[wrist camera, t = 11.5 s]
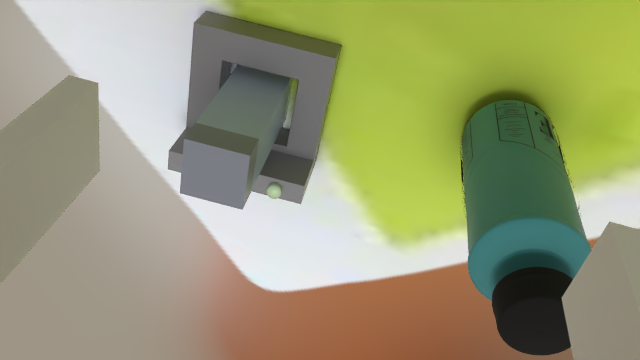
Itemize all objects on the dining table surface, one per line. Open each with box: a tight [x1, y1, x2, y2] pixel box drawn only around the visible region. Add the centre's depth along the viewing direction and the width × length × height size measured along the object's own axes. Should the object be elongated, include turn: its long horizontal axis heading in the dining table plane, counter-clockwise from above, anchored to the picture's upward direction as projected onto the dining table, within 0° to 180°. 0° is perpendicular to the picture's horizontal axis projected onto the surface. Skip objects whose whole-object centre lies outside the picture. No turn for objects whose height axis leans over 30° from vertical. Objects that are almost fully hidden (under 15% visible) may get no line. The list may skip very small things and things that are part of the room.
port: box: [168, 11, 342, 204], centre depth 44 cm, size 10×10×7 cm
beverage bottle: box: [460, 100, 591, 355], centre depth 36 cm, size 6×7×20 cm
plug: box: [180, 64, 293, 209], centre depth 41 cm, size 4×4×12 cm
